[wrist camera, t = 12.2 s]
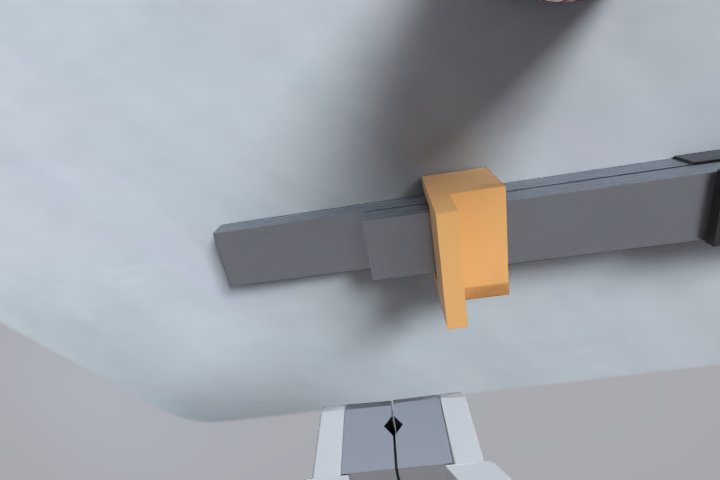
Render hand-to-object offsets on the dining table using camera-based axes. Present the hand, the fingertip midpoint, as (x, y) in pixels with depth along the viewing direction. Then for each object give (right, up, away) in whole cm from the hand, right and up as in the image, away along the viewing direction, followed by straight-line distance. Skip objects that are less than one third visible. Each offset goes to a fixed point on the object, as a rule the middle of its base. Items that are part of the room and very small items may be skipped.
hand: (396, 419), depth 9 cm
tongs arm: (+9, +5, +10) cm, 14 cm away
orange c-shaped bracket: (+4, +5, +11) cm, 13 cm away
